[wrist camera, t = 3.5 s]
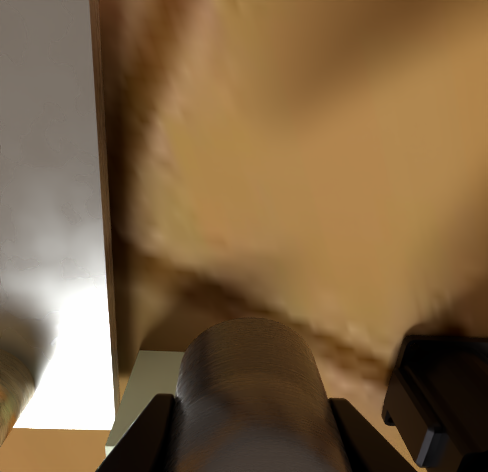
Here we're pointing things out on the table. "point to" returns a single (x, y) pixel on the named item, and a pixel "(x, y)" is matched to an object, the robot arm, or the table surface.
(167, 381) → the green block
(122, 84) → the table surface
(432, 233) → the table surface
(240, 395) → the black peg
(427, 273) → the table surface
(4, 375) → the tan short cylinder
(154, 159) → the table surface
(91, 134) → the grey flat plate
